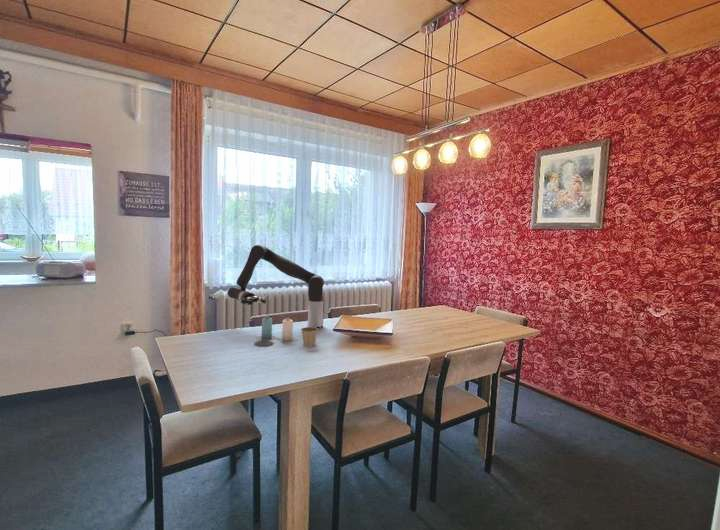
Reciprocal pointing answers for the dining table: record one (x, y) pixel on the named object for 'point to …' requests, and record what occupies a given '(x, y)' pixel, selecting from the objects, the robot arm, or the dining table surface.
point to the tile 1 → (265, 339)
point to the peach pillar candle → (287, 329)
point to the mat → (264, 343)
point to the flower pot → (309, 335)
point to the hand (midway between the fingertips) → (258, 302)
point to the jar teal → (266, 328)
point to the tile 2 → (287, 341)
